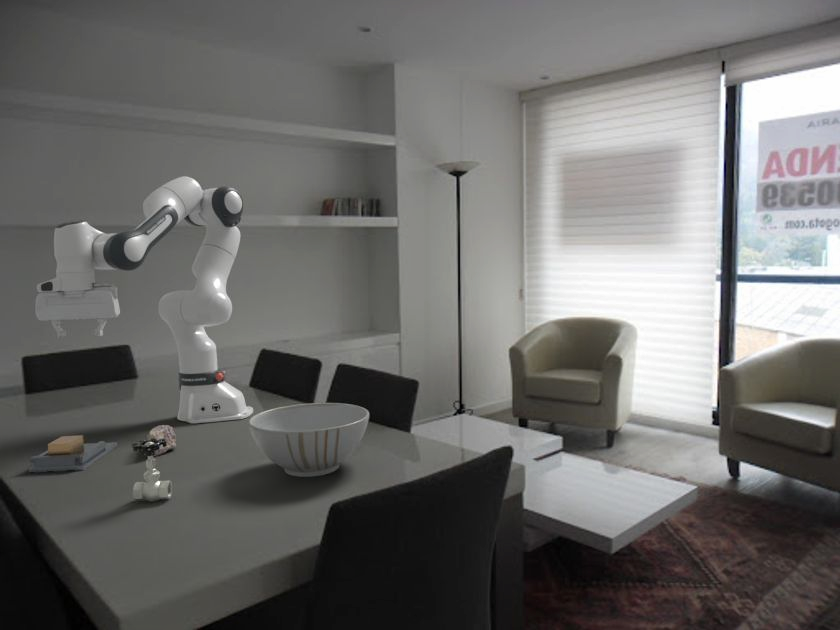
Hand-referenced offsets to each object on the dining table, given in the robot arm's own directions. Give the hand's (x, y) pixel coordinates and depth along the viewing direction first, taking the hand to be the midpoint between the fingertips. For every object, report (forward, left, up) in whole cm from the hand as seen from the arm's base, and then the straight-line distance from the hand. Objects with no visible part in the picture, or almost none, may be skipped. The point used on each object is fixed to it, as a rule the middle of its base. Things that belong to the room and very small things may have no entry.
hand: (80, 336), depth 175 cm
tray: (-2, +12, -29) cm, 32 cm away
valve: (-32, +45, -29) cm, 62 cm away
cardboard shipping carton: (-2, +16, -28) cm, 33 cm away
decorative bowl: (-62, +29, -29) cm, 74 cm away
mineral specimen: (-21, +8, -29) cm, 37 cm away
